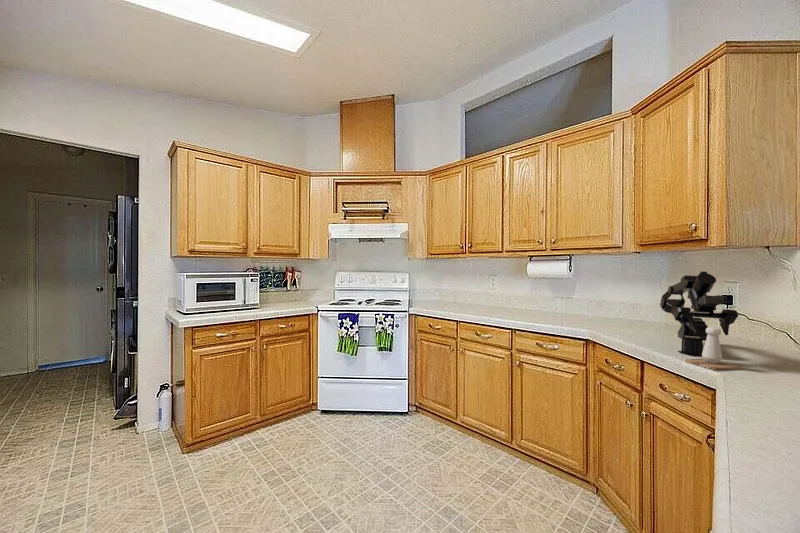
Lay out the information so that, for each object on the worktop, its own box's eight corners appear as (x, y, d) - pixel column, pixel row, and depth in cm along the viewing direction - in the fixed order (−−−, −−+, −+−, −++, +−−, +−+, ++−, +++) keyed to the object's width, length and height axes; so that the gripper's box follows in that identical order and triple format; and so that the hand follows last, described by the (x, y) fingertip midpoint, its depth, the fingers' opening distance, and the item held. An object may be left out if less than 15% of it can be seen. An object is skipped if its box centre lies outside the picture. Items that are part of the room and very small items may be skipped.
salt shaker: (709, 359, 141) (710, 325, 140) (726, 364, 135) (728, 329, 135) (697, 360, 139) (699, 326, 138) (714, 365, 133) (716, 329, 133)
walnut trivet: (685, 362, 141) (685, 359, 141) (708, 360, 143) (708, 358, 143) (715, 370, 130) (715, 368, 130) (739, 369, 133) (740, 366, 133)
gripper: (678, 286, 145) (688, 319, 135) (737, 288, 139) (752, 322, 129) (669, 304, 153) (679, 336, 143) (725, 306, 147) (739, 340, 137)
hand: (711, 333), depth 138 cm, fingers open, 9 cm apart
